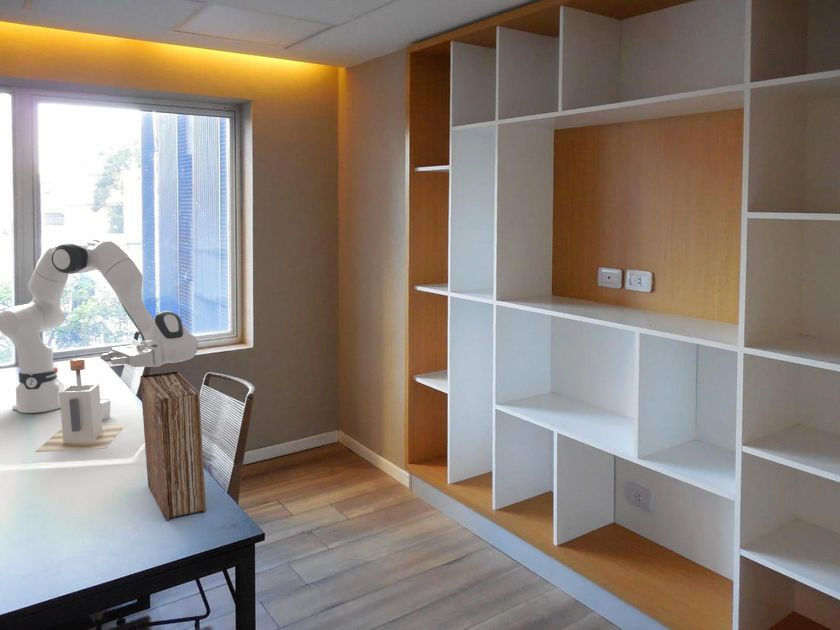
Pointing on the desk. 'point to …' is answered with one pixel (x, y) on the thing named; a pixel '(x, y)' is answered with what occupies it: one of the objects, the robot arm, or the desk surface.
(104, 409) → the shot glass
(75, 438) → the slotted white box
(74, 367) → the plunger
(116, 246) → the robot arm
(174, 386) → the book
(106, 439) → the oak board
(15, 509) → the desk surface
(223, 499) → the desk surface
